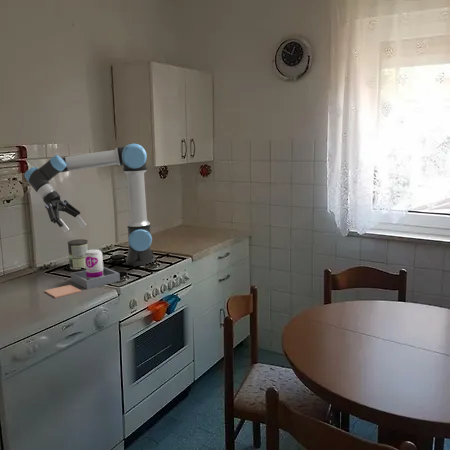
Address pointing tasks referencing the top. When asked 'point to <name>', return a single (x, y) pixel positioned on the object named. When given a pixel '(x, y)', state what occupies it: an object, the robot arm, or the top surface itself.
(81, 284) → the parts tub
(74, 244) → the coffee can
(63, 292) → the terracotta tile
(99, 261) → the supplement can
